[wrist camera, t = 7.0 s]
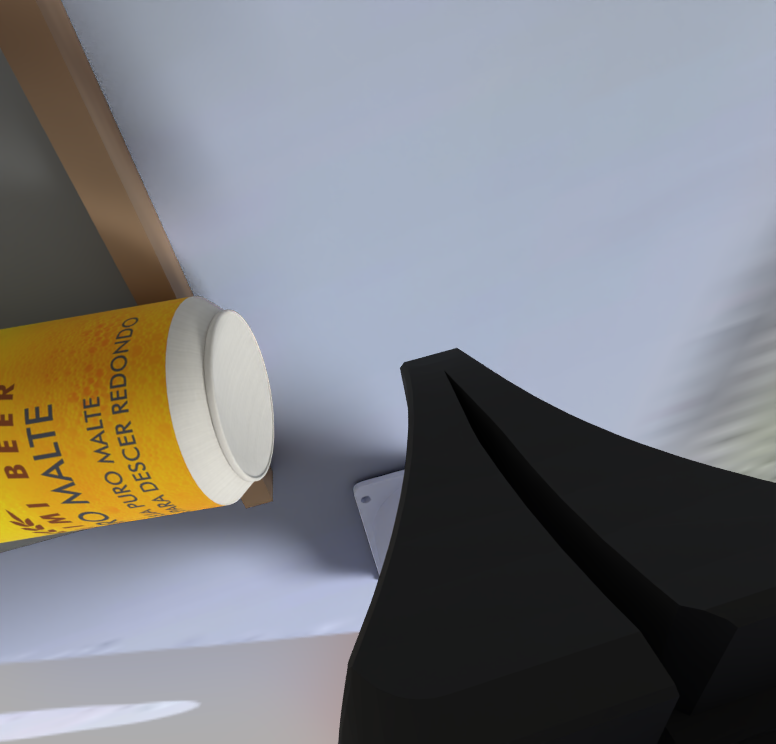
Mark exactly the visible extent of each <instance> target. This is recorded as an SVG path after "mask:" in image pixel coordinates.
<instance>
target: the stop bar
mask: <svg viewBox="0 0 776 744" xmlns="http://www.w3.org/2000/svg"><path fill="white" fill-rule="evenodd" d="M0 48H1V50H2V52H3V54H4V56H5V57H6V59H7V61H8V63H9V65H10V67H11V69H12V71H13V72H14V74H15V76H16V78H17V80H18V82H19V84H20V86H21V87H22V89H23V91H24V93H25V95H26V97H27V99H28V101H29V102H30V104H31V106H32V108H33V110H34V112H35V114H36V116H37V117H38V119H39V121H40V123H41V125H42V127H43V129H44V131H45V132H46V134H47V136H48V138H49V140H50V142H51V144H52V146H53V147H54V149H55V151H56V153H57V155H58V157H59V159H60V161H61V162H62V164H63V166H64V168H65V170H66V172H67V174H68V176H69V177H70V179H71V181H72V183H73V185H74V187H75V189H76V191H77V192H78V194H79V196H80V198H81V200H82V202H83V204H84V206H85V207H86V209H87V211H88V213H89V215H90V217H91V219H92V221H93V222H94V224H95V226H96V228H97V230H98V232H99V234H100V236H101V237H102V239H103V241H104V243H105V245H106V247H107V249H108V251H109V252H110V254H111V256H112V258H113V260H114V262H115V264H116V266H117V267H118V269H119V271H120V273H121V275H122V277H123V279H124V281H125V282H126V284H127V286H128V288H129V290H130V292H131V294H132V296H133V297H134V299H135V301H136V303H137V305H138V306H139V305H145V304H151V303H157V302H163V301H168V300H174V299H180V298H186V297H192V296H193V294H192V291H191V289H190V287H189V285H188V282H187V280H186V278H185V276H184V273H183V271H182V269H181V267H180V265H179V262H178V260H177V258H176V256H175V253H174V251H173V249H172V247H171V245H170V242H169V240H168V238H167V236H166V233H165V231H164V229H163V227H162V224H161V222H160V220H159V218H158V216H157V213H156V211H155V209H154V207H153V204H152V202H151V200H150V198H149V195H148V193H147V191H146V189H145V187H144V184H143V182H142V180H141V178H140V175H139V173H138V171H137V169H136V167H135V164H134V162H133V160H132V158H131V155H130V153H129V151H128V149H127V146H126V144H125V142H124V140H123V138H122V135H121V133H120V131H119V129H118V126H117V124H116V122H115V120H114V118H113V115H112V113H111V111H110V109H109V106H108V104H107V102H106V100H105V97H104V95H103V93H102V91H101V89H100V86H99V84H98V82H97V80H96V77H95V75H94V73H93V71H92V68H91V66H90V64H89V62H88V60H87V57H86V55H85V53H84V51H83V48H82V46H81V44H80V42H79V40H78V37H77V35H76V33H75V31H74V28H73V26H72V24H71V22H70V19H69V17H68V15H67V13H66V11H65V8H64V6H63V4H62V2H61V0H0ZM241 500H242V502H243V504H244V505H245V507H246V508H250V507H253V506H257V505H260V504H264V503H268V502H271V501H273V472H272V470H271V467H270V466H269V469H268V471H267V473H266V474H265V476H264V477H263V478H262V479H261V480H259V481H254V482H253V483H252V484H251V486H250V487H249V488H248V489H247V491H246V492H245V493H244V494H243V496H242V497H241Z"/></svg>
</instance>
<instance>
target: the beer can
mask: <svg viewBox="0 0 776 744" xmlns="http://www.w3.org/2000/svg"><path fill="white" fill-rule="evenodd" d="M273 445H274V413H273V403H272V396H271V389H270V384H269V379H268V375H267V371H266V367H265V363H264V360H263V357H262V354H261V351H260V348H259V346H258V343H257V341H256V339H255V336H254V334H253V332H252V330H251V329H250V327H249V325H248V324H247V322H246V321H245V320H244V319H243V317H242V316H241V315H240V314H238V313H237V312H235V311H233V310H224V309H222V308H220V307H219V306H217V305H215V304H214V303H212V302H211V301H209V300H207V299H205V298H203V297H200V296H192V297H186V298H180V299H174V300H168V301H163V302H157V303H151V304H145V305H139V306H134V307H128V308H122V309H116V310H110V311H105V312H99V313H93V314H87V315H81V316H75V317H70V318H64V319H58V320H52V321H46V322H41V323H35V324H29V325H23V326H17V327H12V328H6V329H0V543H4V542H10V541H16V540H22V539H28V538H34V537H40V536H46V535H52V534H58V533H64V532H70V531H76V530H82V529H88V528H94V527H100V526H106V525H112V524H118V523H124V522H130V521H136V520H142V519H148V518H154V517H160V516H166V515H172V514H178V513H184V512H189V511H195V510H201V509H207V508H213V507H219V506H225V505H230V504H233V503H235V502H237V501H238V500H239V499H240V498H241V497H242V496H243V494H244V493H245V492H246V491H247V489H248V488H249V487H250V486H251V484H252V483H253V482H254V481H259V480H261V479H262V478H263V477H264V476H265V474H266V473H267V471H268V469H269V466H270V463H271V458H272V453H273Z"/></svg>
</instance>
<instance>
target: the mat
mask: <svg viewBox="0 0 776 744" xmlns="http://www.w3.org/2000/svg"><path fill="white" fill-rule="evenodd" d="M134 306H138V305H137V303H136V301H135V299H134V297H133V296H132V294H131V292H130V290H129V288H128V286H127V284H126V282H125V281H124V279H123V277H122V275H121V273H120V271H119V269H118V267H117V266H116V264H115V262H114V260H113V258H112V256H111V254H110V252H109V251H108V249H107V247H106V245H105V243H104V241H103V239H102V237H101V236H100V234H99V232H98V230H97V228H96V226H95V224H94V222H93V221H92V219H91V217H90V215H89V213H88V211H87V209H86V207H85V206H84V204H83V202H82V200H81V198H80V196H79V194H78V192H77V191H76V189H75V187H74V185H73V183H72V181H71V179H70V177H69V176H68V174H67V172H66V170H65V168H64V166H63V164H62V162H61V161H60V159H59V157H58V155H57V153H56V151H55V149H54V147H53V146H52V144H51V142H50V140H49V138H48V136H47V134H46V132H45V131H44V129H43V127H42V125H41V123H40V121H39V119H38V117H37V116H36V114H35V112H34V110H33V108H32V106H31V104H30V102H29V101H28V99H27V97H26V95H25V93H24V91H23V89H22V87H21V86H20V84H19V82H18V80H17V78H16V76H15V74H14V72H13V71H12V69H11V67H10V65H9V63H8V61H7V59H6V57H5V56H4V54H3V52H2V50H1V48H0V329H6V328H12V327H17V326H23V325H29V324H35V323H41V322H46V321H52V320H58V319H64V318H70V317H75V316H81V315H87V314H93V313H99V312H105V311H110V310H116V309H122V308H128V307H134ZM88 529H89V528H88ZM82 530H85V529H82ZM82 530H76V531H70V532H64V533H58V534H52V535H46V536H40V537H34V538H28V539H22V540H16V541H10V542H4V543H0V553H1V552H5V551H9V550H12V549H16V548H20V547H23V546H27V545H31V544H34V543H38V542H42V541H45V540H49V539H52V538H56V537H60V536H63V535H67V534H71V533H74V532H78V531H82Z"/></svg>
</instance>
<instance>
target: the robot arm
mask: <svg viewBox="0 0 776 744" xmlns="http://www.w3.org/2000/svg"><path fill="white" fill-rule="evenodd" d="M400 370H401V375H402V380H403V385H404V390H405V395H406V400H407V405H408V439H407V453H406V463H405V470H401V471H397V472H394V473H390V474H387V475H383V476H380V477H376V478H372V479H369V480H365V481H362V482H359V483H357V484H356V485H355V486H354V488H353V492H354V497H355V500H356V503H357V506H358V509H359V513H360V516H361V519H362V522H363V525H364V529H365V532H366V535H367V538H368V541H369V545H370V548H371V551H372V554H373V557H374V561H375V564H376V567H377V570H378V573H379V579H378V582H377V586H376V589H375V592H374V595H373V598H372V601H371V604H370V606H369V609H368V612H367V614H366V617H365V619H364V622H363V625H362V627H361V630H360V633H359V636H358V638H357V641H356V643H355V646H354V649H353V651H352V654H351V656H350V659H349V662H348V669H347V675H346V682H345V688H344V695H343V703H342V710H341V719H340V728H339V742H338V744H776V483H774V482H770V481H765V480H761V479H757V478H754V477H750V476H746V475H742V474H739V473H735V472H731V471H727V470H724V469H720V468H716V467H712V466H709V465H706V464H702V463H699V462H695V461H692V460H689V459H685V458H682V457H679V456H676V455H673V454H670V453H667V452H664V451H661V450H658V449H655V448H652V447H649V446H646V445H643V444H641V443H638V442H635V441H632V440H630V439H627V438H624V437H622V436H619V435H617V434H614V433H612V432H609V431H607V430H605V429H602V428H600V427H597V426H595V425H593V424H590V423H588V422H586V421H583V420H581V419H579V418H577V417H575V416H572V415H570V414H568V413H566V412H564V411H562V410H560V409H558V408H556V407H554V406H552V405H550V404H548V403H547V402H545V401H543V400H541V399H539V398H537V397H535V396H533V395H532V394H530V393H528V392H526V391H525V390H523V389H521V388H520V387H518V386H516V385H514V384H513V383H511V382H509V381H508V380H506V379H504V378H503V377H501V376H500V375H498V374H497V373H495V372H493V371H492V370H490V369H489V368H487V367H486V366H484V365H483V364H481V363H479V362H478V361H476V360H475V359H473V358H472V357H470V356H469V355H467V354H466V353H464V352H463V351H461V350H459V349H458V348H455V349H452V350H448V351H444V352H441V353H437V354H433V355H429V356H426V357H422V358H418V359H415V360H411V361H407V362H404V363H403V365H402V366H401V367H400ZM365 496H367V497H365ZM363 497H364V498H363Z"/></svg>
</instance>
